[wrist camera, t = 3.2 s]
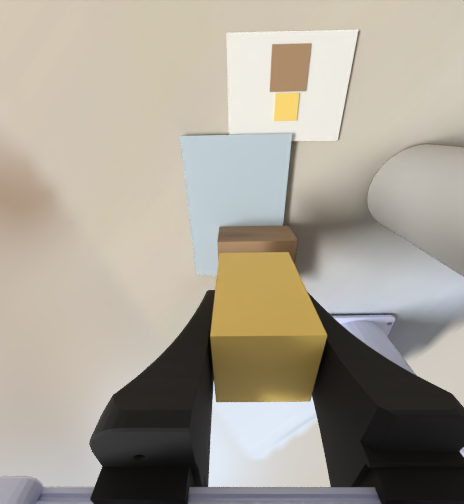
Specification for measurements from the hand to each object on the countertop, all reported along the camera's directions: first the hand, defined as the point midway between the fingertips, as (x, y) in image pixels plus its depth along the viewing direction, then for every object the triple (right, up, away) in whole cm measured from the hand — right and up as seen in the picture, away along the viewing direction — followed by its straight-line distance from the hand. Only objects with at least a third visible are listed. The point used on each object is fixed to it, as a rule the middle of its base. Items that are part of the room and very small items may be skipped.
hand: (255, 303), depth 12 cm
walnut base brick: (+1, +3, +8) cm, 9 cm away
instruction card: (+2, +14, +3) cm, 14 cm away
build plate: (-1, +6, +7) cm, 9 cm away
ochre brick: (0, +1, +1) cm, 2 cm away
